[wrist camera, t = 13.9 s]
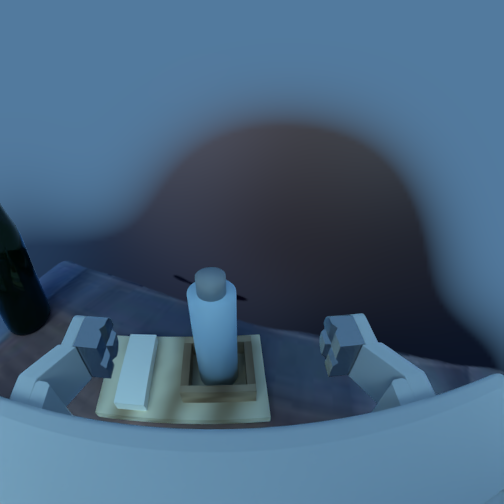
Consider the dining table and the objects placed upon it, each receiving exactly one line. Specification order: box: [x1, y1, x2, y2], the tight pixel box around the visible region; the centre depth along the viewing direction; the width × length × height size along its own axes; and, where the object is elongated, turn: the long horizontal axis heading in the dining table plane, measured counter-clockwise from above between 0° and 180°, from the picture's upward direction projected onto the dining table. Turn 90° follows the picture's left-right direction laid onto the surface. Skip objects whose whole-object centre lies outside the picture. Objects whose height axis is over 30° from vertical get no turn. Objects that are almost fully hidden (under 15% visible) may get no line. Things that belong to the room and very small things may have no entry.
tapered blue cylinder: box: [187, 267, 238, 386], centre depth 34 cm, size 5×5×16 cm
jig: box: [96, 334, 271, 424], centre depth 37 cm, size 22×14×4 cm, turn 95°
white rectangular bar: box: [114, 334, 158, 411], centre depth 37 cm, size 4×12×2 cm, turn 5°
